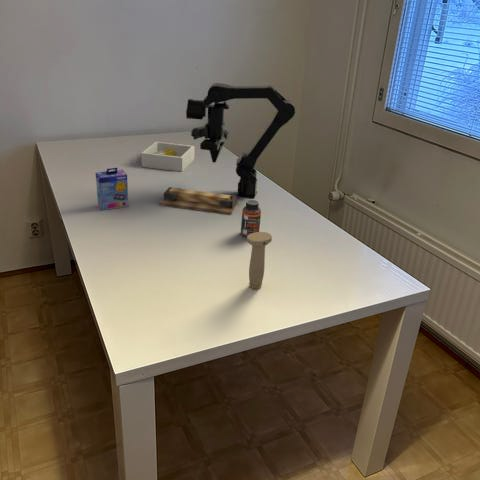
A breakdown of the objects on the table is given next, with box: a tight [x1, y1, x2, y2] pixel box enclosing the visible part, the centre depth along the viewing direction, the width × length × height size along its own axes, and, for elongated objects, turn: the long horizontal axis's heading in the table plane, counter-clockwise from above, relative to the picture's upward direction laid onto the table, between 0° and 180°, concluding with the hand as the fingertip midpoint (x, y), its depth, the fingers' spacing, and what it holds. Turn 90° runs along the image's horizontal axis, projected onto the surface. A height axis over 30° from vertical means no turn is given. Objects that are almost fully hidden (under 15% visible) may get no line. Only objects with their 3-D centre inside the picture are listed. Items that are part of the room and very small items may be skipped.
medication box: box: [152, 149, 175, 156], centre depth 218 cm, size 12×3×4 cm, turn 137°
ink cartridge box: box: [95, 167, 129, 211], centre depth 169 cm, size 10×6×14 cm, turn 120°
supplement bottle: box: [240, 199, 262, 238], centre depth 156 cm, size 6×6×11 cm
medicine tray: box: [140, 141, 195, 172], centre depth 215 cm, size 18×18×6 cm
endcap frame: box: [159, 186, 239, 215], centre depth 177 cm, size 26×12×4 cm, turn 79°
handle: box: [246, 231, 273, 290], centre depth 127 cm, size 5×6×15 cm
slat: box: [169, 187, 232, 205], centre depth 177 cm, size 22×3×3 cm, turn 79°
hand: (214, 162), depth 183 cm, fingers closed
